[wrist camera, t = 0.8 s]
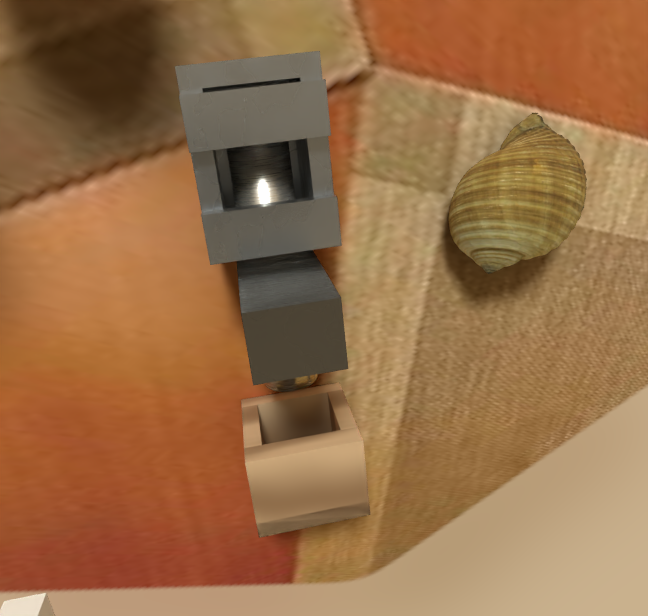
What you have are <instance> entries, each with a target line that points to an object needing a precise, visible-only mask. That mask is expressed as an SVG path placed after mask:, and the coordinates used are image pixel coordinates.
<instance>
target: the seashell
mask: <svg viewBox="0 0 648 616" xmlns="http://www.w3.org/2000/svg"><path fill="white" fill-rule="evenodd" d="M537 114H538V113H532V114H531V115H530V116H528V117H527V118H526V119H525V120H523V121H522V122H521V123H519V124H518V125H517V126H515V127H514V128H513V129H512V130H511V131H510V133H509V134H508V136H507V138H506V139H505V141H504V142H503V144H502V145H501V148H500V151H497V152H495V153H493V154H491V155H489V156H487V157H485V158H484V159H483V160H481V161H479V162H478V163H477V164H475V165H474V166H473V167H472V168H471V169H470V170H469V171H467V173H466V174H465V175H464V176H463V178H462V179H461V181H460V182H459V184H458V186H457V188H456V190H455V192H454V195H453V197H452V200H451V205H450V208H449V216H448V217H449V227H450V233H451V235H452V238H453V241H454V242H455V243H456V244H457V246H458V248H459V249H460V250H461V251H462V252H464V253H465V254H466V255H467V256H468V257H470V258H471V259H473V260H474V262H475V263H477V264H478V265H479V266H480V267H482V268H483V269H484V271H485V272H486V273H488V274H489V273H493V272H495V271H497V270H500V269H502V268H503V267H507V266H511V265H513V264H515V263H517V262H519V261H520V260H521V259H524V260H527V259H531V258H534V257H538V256H542V255H546V254H547V253H549V251H551V250H552V249H555V248H557V247H559V245H560V244H561V243H562V242H563V241H564V240H565V239H567V238H568V236H569V234H570V232H571V230H573V229H574V228H575V225H576V223H577V221H578V220H579V219H580V217H581V212H582V210H583V208H584V201H585V196H586V180H587V179H586V176H585V173H586V171H585V169H584V167H583V165H584V163H583V161H582V160H581V159H580V156H579V153H578V152H577V151H576V150H575V147H574V146H573V145H571V143H570V141H569V140H568V139H565V138H564V137H563V136H562V135H558V134H557V133H556V132H554V131H552V130H551V128H550V127H549V126H548V125H546V124H545V123H544V122H543V119H542V117H541V116H539V115H537Z"/></svg>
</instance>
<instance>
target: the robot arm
mask: <svg viewBox="0 0 648 616" xmlns="http://www.w3.org/2000/svg"><path fill="white" fill-rule="evenodd" d="M0 616H55V614H54V612H53V609H52V606H51V604H50V601H49V598H48V596H47V593H42V594H37V595H32V596H27V597H22V598H17V599H12V600H7V601H4V603H3V605H2V607H1V610H0Z"/></svg>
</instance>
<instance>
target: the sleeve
mask: <svg viewBox="0 0 648 616" xmlns="http://www.w3.org/2000/svg"><path fill="white" fill-rule="evenodd" d="M175 70H176V75H177V81H178V86H179V92H180V95H179V99H180V104H181V109H182V115H183V120H184V125H185V131H186V136H187V141H188V147H189V152H190V153H191V156H192V162H193V167H194V173H195V178H196V183H197V189H198V194H199V200H200V205H201V210H202V214H201V217H202V222H203V227H204V233H205V238H206V244H207V249H208V254H209V260H210V265H213V264H220V263H227V262H233V261H240V260H247V259H254V258H260V257H267V256H274V255H281V254H288V253H294V252H301V251H308V250H315V249H321V248H328V247H335V246H342V244H341V233H340V223H339V213H338V203H337V196H336V195H334V191H333V180H332V170H331V160H330V150H329V140H328V136H330V135H331V131H330V121H329V111H328V101H327V90H326V80H325V79H322V70H321V60H320V51H314V52H305V53H295V54H286V55H276V56H267V57H258V58H248V59H239V60H229V61H220V62H211V63H201V64H192V65H182V66H175ZM282 141H288V142H289V150H290V158H291V166H292V174H293V182H294V190H295V198H296V199H294V200H286V201H279V202H272V203H264V204H257V205H250V206H242V207H236V205H235V199H234V192H233V186H232V180H231V174H230V168H229V162H228V156H227V149H226V148H234V147H242V146H250V145H258V144H266V143H274V142H282Z"/></svg>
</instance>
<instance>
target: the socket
mask: <svg viewBox="0 0 648 616" xmlns="http://www.w3.org/2000/svg"><path fill="white" fill-rule="evenodd" d="M241 404H242V420H243V436H244V452H245V465H246V470H247V475H248V481H249V486H250V491H251V497H252V502H253V507H254V513H255V518H256V523H257V529H258V534H259V538H260V537H265V536H269V535H274V534H279V533H284V532H289V531H294V530H299V529H303V528H308V527H313V526H318V525H323V524H328V523H333V522H337V521H342V520H347V519H352V518H357V517H362V516H366V515H370V506H369V496H368V485H367V475H366V465H365V454H364V444H363V439H362V436H361V434H360V431H359V429H358V427H357V424H356V422H355V419H354V417H353V414H352V412H351V410H350V407H349V405H348V402H347V400H346V398H345V395H344V393H343V390H342V388H341V385H340V383H334V384H328V385H322V386H317V387H311V388H305V389H300V390H297V391H291V392H283V393H277V394H271V395H266V396H260V397H254V398H249V399H243V400H241Z"/></svg>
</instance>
